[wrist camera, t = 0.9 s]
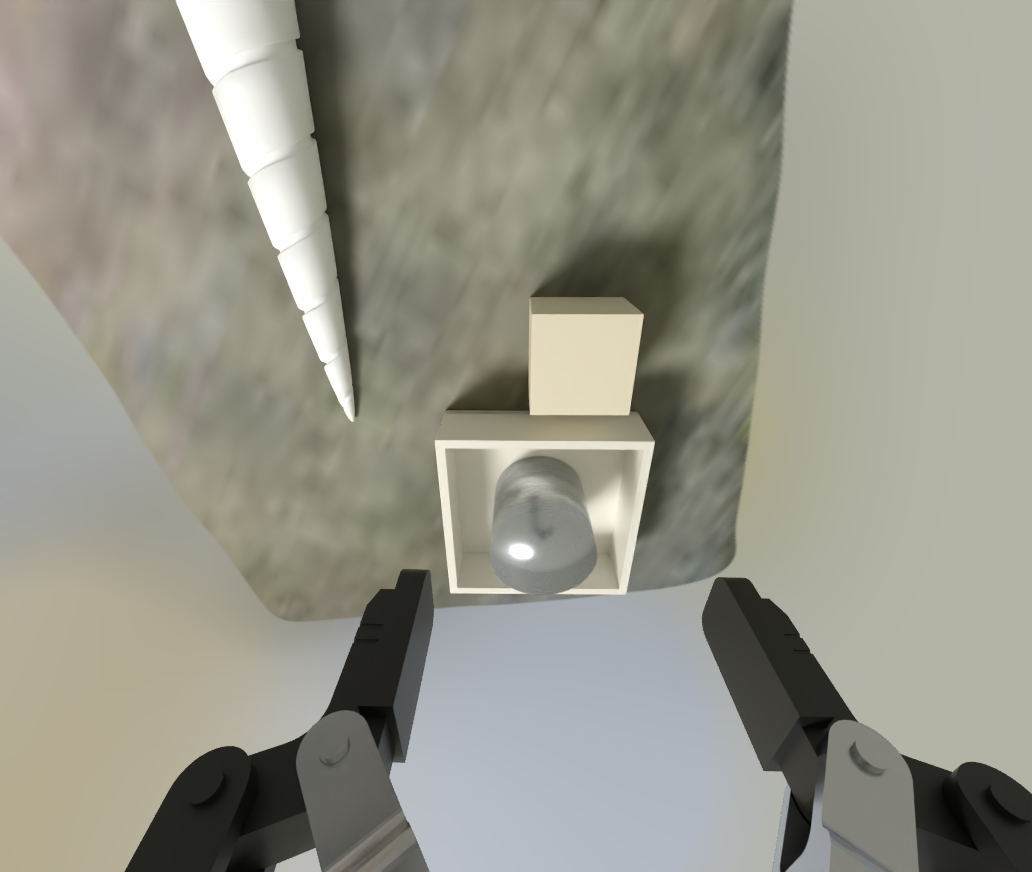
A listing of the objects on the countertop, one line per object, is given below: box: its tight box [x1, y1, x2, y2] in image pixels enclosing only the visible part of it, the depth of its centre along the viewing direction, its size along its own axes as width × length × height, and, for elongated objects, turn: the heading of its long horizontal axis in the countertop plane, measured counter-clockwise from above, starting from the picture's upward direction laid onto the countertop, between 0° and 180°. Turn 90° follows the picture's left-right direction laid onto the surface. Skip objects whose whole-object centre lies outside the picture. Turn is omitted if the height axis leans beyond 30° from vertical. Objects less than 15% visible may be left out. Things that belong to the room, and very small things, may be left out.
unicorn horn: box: [176, 0, 355, 422], centre depth 23 cm, size 5×24×5 cm, turn 178°
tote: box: [435, 410, 655, 594], centre depth 32 cm, size 14×14×4 cm
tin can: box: [490, 456, 597, 595], centre depth 30 cm, size 7×7×7 cm
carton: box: [528, 297, 644, 415], centre depth 26 cm, size 6×6×5 cm
